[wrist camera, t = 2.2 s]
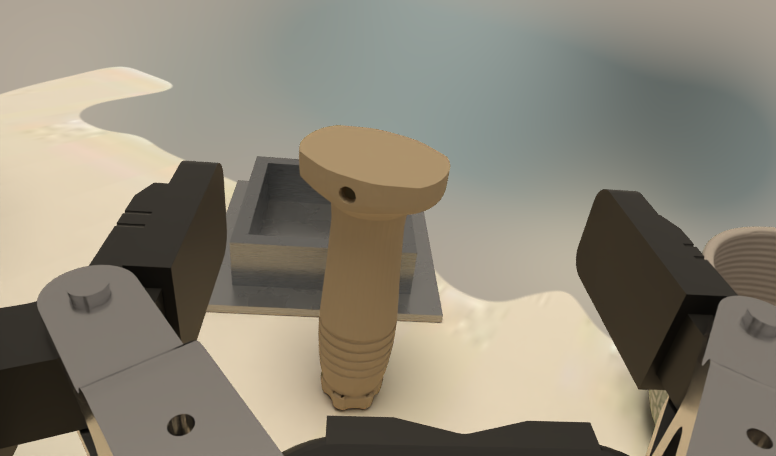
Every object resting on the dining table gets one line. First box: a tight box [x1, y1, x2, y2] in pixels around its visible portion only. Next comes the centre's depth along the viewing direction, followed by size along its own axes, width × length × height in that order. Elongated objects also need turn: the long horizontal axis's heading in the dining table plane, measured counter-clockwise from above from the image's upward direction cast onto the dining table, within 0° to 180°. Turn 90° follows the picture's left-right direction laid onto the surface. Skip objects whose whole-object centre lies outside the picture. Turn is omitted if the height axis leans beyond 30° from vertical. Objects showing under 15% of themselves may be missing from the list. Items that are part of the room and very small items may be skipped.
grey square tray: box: [206, 156, 443, 322], centre depth 42 cm, size 16×16×4 cm
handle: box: [299, 125, 450, 410], centre depth 28 cm, size 5×6×15 cm
